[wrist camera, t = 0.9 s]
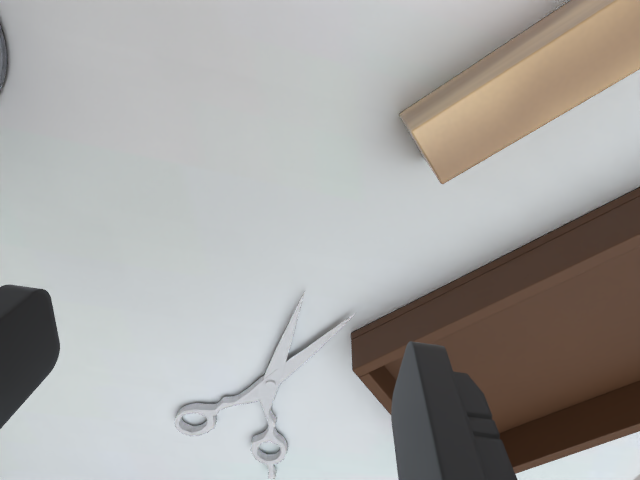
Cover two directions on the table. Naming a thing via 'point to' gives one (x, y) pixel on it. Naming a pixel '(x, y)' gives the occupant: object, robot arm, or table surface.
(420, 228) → the table surface
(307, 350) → the scissors
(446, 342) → the tray
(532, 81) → the tan and orange bar
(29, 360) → the robot arm
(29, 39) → the table surface
